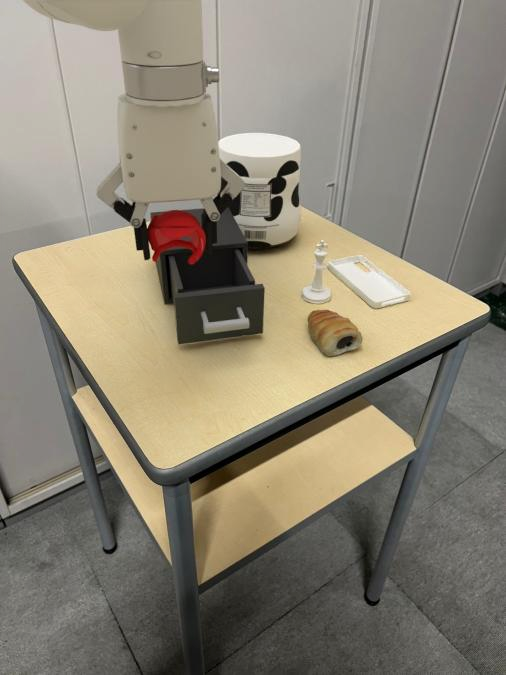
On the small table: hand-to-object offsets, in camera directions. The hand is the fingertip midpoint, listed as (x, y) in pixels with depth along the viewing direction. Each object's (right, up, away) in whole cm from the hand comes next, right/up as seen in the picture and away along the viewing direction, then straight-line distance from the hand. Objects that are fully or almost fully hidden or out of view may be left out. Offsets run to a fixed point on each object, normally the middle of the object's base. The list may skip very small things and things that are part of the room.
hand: (177, 250), depth 60 cm
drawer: (+3, -8, +18) cm, 20 cm away
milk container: (+9, +10, +44) cm, 46 cm away
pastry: (+20, -11, +17) cm, 28 cm away
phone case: (+28, -1, +30) cm, 41 cm away
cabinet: (-1, 0, +30) cm, 30 cm away
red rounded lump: (0, -1, +1) cm, 1 cm away
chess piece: (+19, -3, +26) cm, 33 cm away
